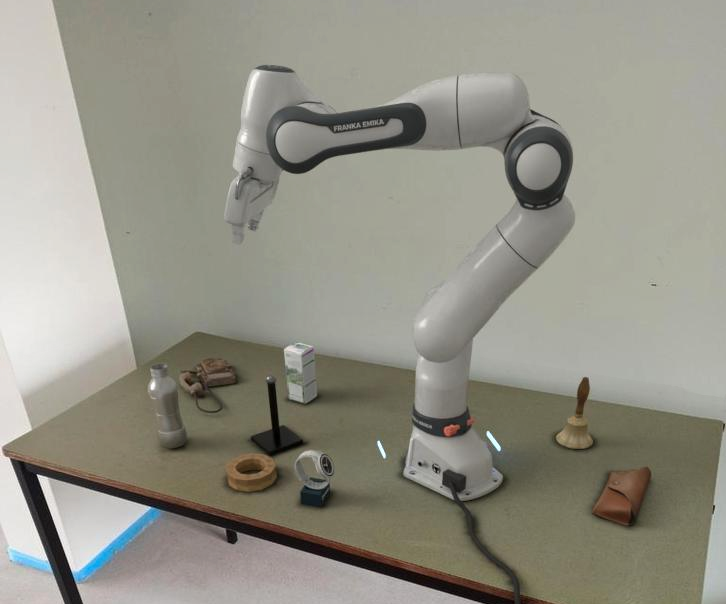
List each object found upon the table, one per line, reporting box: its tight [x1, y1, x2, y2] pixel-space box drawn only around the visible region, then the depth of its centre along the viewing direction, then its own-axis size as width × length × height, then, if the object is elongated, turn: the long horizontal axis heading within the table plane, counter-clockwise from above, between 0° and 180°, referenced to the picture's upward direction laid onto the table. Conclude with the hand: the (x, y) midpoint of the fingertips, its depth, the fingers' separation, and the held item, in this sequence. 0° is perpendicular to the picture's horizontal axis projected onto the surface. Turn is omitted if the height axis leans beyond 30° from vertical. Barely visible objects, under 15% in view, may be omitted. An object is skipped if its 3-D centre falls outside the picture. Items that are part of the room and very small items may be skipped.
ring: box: [225, 453, 278, 493], centre depth 145 cm, size 11×11×3 cm
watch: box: [293, 449, 335, 509], centre depth 136 cm, size 6×8×11 cm
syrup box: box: [283, 341, 318, 405], centre depth 174 cm, size 6×6×14 cm
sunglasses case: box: [591, 466, 652, 527], centre depth 136 cm, size 18×7×7 cm
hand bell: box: [555, 376, 594, 450], centre depth 153 cm, size 8×8×16 cm
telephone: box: [178, 357, 237, 414], centre depth 182 cm, size 15×33×4 cm, turn 23°
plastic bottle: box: [147, 362, 188, 449], centre depth 153 cm, size 6×7×20 cm
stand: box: [250, 374, 304, 457], centre depth 154 cm, size 9×9×17 cm
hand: (245, 235), depth 131 cm, fingers open, 8 cm apart
